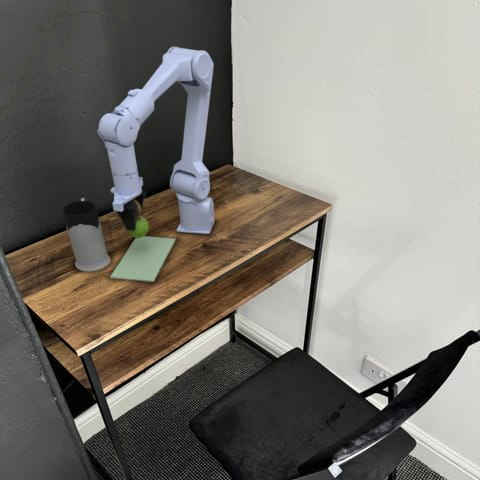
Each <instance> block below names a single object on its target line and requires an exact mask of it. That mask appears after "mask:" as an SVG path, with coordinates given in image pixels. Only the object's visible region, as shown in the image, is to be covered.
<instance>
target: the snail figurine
mask: <svg viewBox="0 0 480 480" xmlns="http://www.w3.org/2000/svg"><path fill="white" fill-rule="evenodd" d="M130 202H131V204H138V206H137V209H136V229H135V230H134V231H133V230H127V229H126V232H127V234H128V235H129V236H130V237H133V238H141V237H143V236H146V235H147V234H148V232H149V229H150V226H149V223H148V220H147V219H146V218H145V217H143V215H142V216H141V215H140V214H141V212H142V213H143V209H142V210H141V206H140V204H139V203H138V202H137V201H136V200H135V199H132V200H130V201H129V203H130Z"/></svg>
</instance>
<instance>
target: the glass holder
mask: <svg viewBox="0 0 480 480" xmlns="http://www.w3.org/2000/svg"><path fill="white" fill-rule="evenodd" d="M62 213H63V217H64V221H65V224H66V230H67V234H68V238H69V241H70V244H71V245H70V246H71V248H72V251H73V255H74V259H75V268H76V269H78V270H79V271H82V272H95V271H100V270H102V269H104V268H106V267H107V266H108V265H109V264H110V263H111V258H110V256H109V254H108V250H107V247H106V242H105V238H104V233H103V229H102V224H101V222H100V219H99V215H98V211H97V207H96V204H95V203H94V202H93V201H89V200H86V198H85V197H82V198H80V200H78V201H77V200H76V201H73V202H70V203H68V204H66V205H64V207H62Z"/></svg>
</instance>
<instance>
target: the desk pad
mask: <svg viewBox="0 0 480 480" xmlns="http://www.w3.org/2000/svg"><path fill="white" fill-rule="evenodd" d="M134 238H135V237H134ZM176 240H177V239H176V238H173V237H172V238H170V237H157V236H146V235H145V236H143V237H141V238H135V239H134V240H133V241H132V242H131V244H130V246H129V247H128V249H127V251H126V252H125V253H124V255H123V257H122V258H121V260H120V261H119V263H118V264H117V266H116V267H115V269H114V270H113V272H112V273H111V274H110V276H109V278H110V279H116V280H126V281H135V282H136V281H137V282H149V283H154V282H155V281H156V278H157V277H158V275H159V273H160V271H161V269H162V267H163V266H164V263H165V261H166V260H167V258H168V256H169V254H170V252H171V250H172V249H173V246H174V244H175V243H176Z"/></svg>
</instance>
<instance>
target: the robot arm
mask: <svg viewBox="0 0 480 480" xmlns="http://www.w3.org/2000/svg"><path fill="white" fill-rule="evenodd" d="M214 66H215V64H214V62H213V60H212V57H211V56H210V55H209V53H208V52H207V51H206V50H201V49H200V50H196V49H190V48H184V47H183V48H182V47H178V46H172V47H170V48H169V49H168V50H167V52H165V53H164V54H163V55H162V63H161V64H160V65H159V66H158V68H157V69H156V70H155V72H154V73H153V74H152V76H151V77H150V79H149V80H148V81H147V82H146V84H145V85H144V86H143V87H142V89H140V88H134V89H130V90H129V91H128V92H127V96H126V97H125V98H124V100H122V101H121V103H120V104H119V105H117V106H116V107H115V108H114V110H113V111H112V112H108V113H105V114H104V115H102V117H101V118H100V120H99V122H98V129H97V130H96V132H97V134H98V137H99V138H100V139H101V140H102V141H103V142H104V143H103V144H104V148H106V150H107V155H108V161H109V165H110V170H111V175H112V180H113V187H111V189H110V193H112V194H113V201H112V204H111V206H112V209H113V212H116V214H117V215H118V216H119V218H120V220H121V221H122V224H123V226H124V227H125V229H126V231H127V230H133V231H134V230H135V229H136V209H137V206H138V204H131V202H130V203H129V201H130V200H132V199H135V200H136V201H137V202H138V203H139V204H140V206H141V210H142V212H141V214H140V215H141V216H142V217H143V209H144V208H143V207H144V202H145V199H146V195H147V192H146V191H147V190H144V189H142V187H143V186H144V181H143V177H142V176H139V170H138V165H137V164H138V163H137V158H136V152H135V146H134V143H135V142H136V140H137V138H138V134H139V130H140V128H141V126H142V125H143V123H145V121H146V120H147V119H148V118H149V117H150V115H152V113H153V112H154V111H155V102H156V101H157V100H158V99H159V98H160V97H161V96H162V95H163V94H164V93H165V92H166V91H168V90H169V88H170V87H172V86H173V85H174V84H175V83H176V82H177V83H179V84H180V85H181V86H182V87H183V89H184V91H185V92H186V93H187V101H186V110H185V111H186V112H185V120H184V131H183V140H182V149H181V150H182V151H181V159H180V160H179V161H178V162H176V163H175V164H174V165H173V170H172V173H171V176H170V180H169V187H170V189H171V191H172V192H174V193H175V197H176V198H177V203H178V204H177V205H178V212H179V224H178V226H177V228H176V233H186V234H187V233H189V234H202V235H210V234H211V232H212V228H213V226H214V224H215V221H216V220H215V206H214V205H215V204H214V199H213V198H212V197H208V195H209V193H210V190H211V183H210V171H209V169H208V168H207V167H206V166H205V164H204V163H203V159H204V158H203V157H204V148H205V142H206V134H207V124H208V118H209V117H208V115H209V109H210V108H209V107H210V99H211V92H212V91H211V90H212V83H213V75H214Z"/></svg>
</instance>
